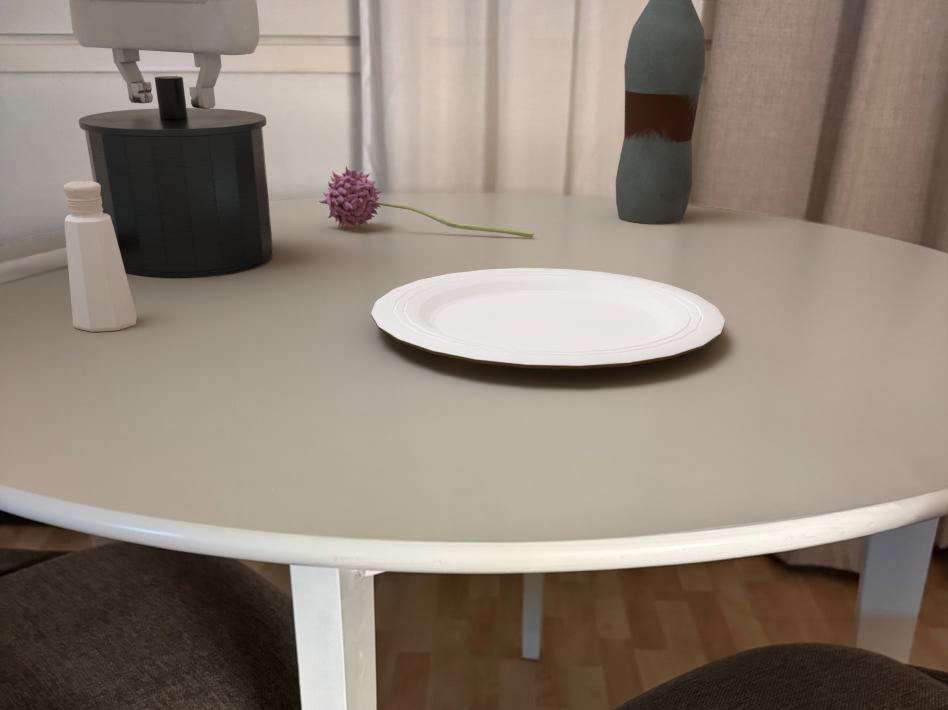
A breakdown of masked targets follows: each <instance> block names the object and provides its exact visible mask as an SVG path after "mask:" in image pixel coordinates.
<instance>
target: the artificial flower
mask: <svg viewBox="0 0 948 710" xmlns="http://www.w3.org/2000/svg"><path fill="white" fill-rule="evenodd" d="M363 173H364V170H361V171H359V172H358V171H357V169H355V168H353V169H351V170H350V169H348V167H347V165H345V172H342V175H338V174H337V173H335V171H334V170H332V176H333V177H332V176H330V181H332V182H330V181H328V182H327V183H328V184H327V185H328V187H327V189H328V193H325V192H323V195H324V196H325V197H326V198H324V199H322V200H318V202H319V203H321V204H323V205H327V206H329V207H328V210H329V215H328V217H327V219H331V218H332V217H333V218H334V219H335V223H338V227H343V226H344V225H345V230H347V229H350V230H351V228H352V229H353V230H354V229H355V226H357V224H358V226H360V225H363V224H367V225H368V222H367V221H369V220H371V221H372V220H373V218H375V215H377V216H378V212H377V210H379V208H382V206H383V207H389V208H390V207H391V208H396V209H402V210H408V211H409V210H410V211H412V212H415V213H418V214H421V215H423V216H426V217H428V218H430V219H432V220H434V221H436V222H438V223H440V224H442V225H445V226H447V227H450V228H454V229H459V230H469V231H479V232H488V233H499V234H506V235H511V236H512V235H513V236H517V237H522V238H523V237H524V238H527V239H528V238H529V239H533V238H534V233H535V231H534V230H527V229H520V228H513V227H503V226H494V225H493V226H491V225H481V224H469V223H458V222H454V221H449V220H446V219H444V218H441V217H439V216H437V215H435V214H432V213H429V212H427V211H425V210H422V209H419V208H417V207H414V206H408V205H401V204H395V203H386V202H381V201H379V199H380V198H381V197H380V196H378V195H379V194H382V193H383V192H382V191H380V189H379V187H375V184H376V182H377V181H376V180H370V179H368V178H369V176H370V174H371V172H368V173H367V174H363Z"/></svg>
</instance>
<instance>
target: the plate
mask: <svg viewBox="0 0 948 710" xmlns="http://www.w3.org/2000/svg"><path fill="white" fill-rule="evenodd" d="M370 316H371V318H372V320H373V321H374V323H375V325H376V327H377V329H378V330H380V331H382V332H383V333H385V334H386V335H387V336H389V337H391V338H392V339H394V340H396V341H397V342H399V343H401V344H404V345H406V346H409V347H412V348H415V349H418V350H420V351H424V352H426V353H429V354H432V355H436V356H441V357H446V358H451V359H456V360H461V361H466V362H471V363H475V364H481V365H482V364H483V365H492V366H501V367H509V368H518V369H528V370H529V369H530V370H561V371H562V370H566V371H570V370H587V369H588V370H590V369H604V368H618V367H631V366H636V365H642V364H649V363H654V362H655V363H656V362H659V361H666V360H671V359H673V358H677V357H679V356H682V355H685V354H689V353H692V352H694V351H695V352H696V351H697V350H701V349H702V348H705V347H706V346H707V345H708V344H710V343H712V342H713V341H714V340H716V339H718V338H719V337H721V335H722V332H723V330H724V327H725V323H726V319H725V318H724V316H723V314H722V313H721V311H720V310H719V308H718V307H717V306H716V305H714V304H713V303H711V302H710V301H708V300H706V299H704V298H703V297H701V296H700V295H698V294H696V293H693V292H691V291H689V290H685V289H682V288H680V287H677V286H674V285H671V284H667V283H663V282H660V281H655V280H651V279H646V278H642V277H638V276H631V275H625V274H618V273H611V272H606V271H605V272H604V271H596V270H595V271H594V270H584V269H571V268H549V267H548V268H546V267H512V268H511V267H510V268H493V269H488V268H487V269H478V270H469V271H461V272H453V273H452V272H451V273H445V274H441V275H436V276H432V277H431V276H430V277H427V278H422V279H418V280H417V279H416V280H415V281H412V282H409V283H406V284H404V285H401V286H397V287H396V288H393V289H391V290H390V291H389V292H387V293H385V294H384V295H383V296H382V297H380V298H379V299H377V300H376V301H375V302H374V305H373V307H372V310H371V312H370Z"/></svg>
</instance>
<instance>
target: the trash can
mask: <svg viewBox="0 0 948 710" xmlns="http://www.w3.org/2000/svg"><path fill="white" fill-rule="evenodd" d="M84 135H85V139H86V140H85V141H86V146H87V153H88V157H89V163H90V170H91V175H92V181H94V182H97V183H99V184H100V185H101V192H100V196H101V199H102V208H103V211H102V212H103V213H105V214H108V215H110V217H111V220H112V223H113V227H114V231H115V235H116V238H117V242H118V246H119V250H120V254H121V257H122V261H123V265H124V269H125V273H126V274H129V275H130V274H131V275H135V276H142V277H153V278H203V277H214V276H223V275H229V274H230V275H231V274H235V273H241V272H246V271H250V270H254V269H256V268H259V267H262V266H263V265H266V264H267V263H270V261H272V259H273V257H274V253H273V252H274V251H273V250H274V244H273V233H272V232H273V231H272V222H271V211H270V200H269V187H268V177H267V166H266V155H265V142H264V131H263V127H262V128H259V129H255V130H250V131H245V132H238V133H230V134H219V135H205V136H181V137H142V136H121V135H108V134H100V133H94V132H89V131H86V130H84Z"/></svg>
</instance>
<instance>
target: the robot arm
mask: <svg viewBox="0 0 948 710" xmlns="http://www.w3.org/2000/svg"><path fill="white" fill-rule="evenodd" d="M68 2H69V12H70V13H69V14H70V21H71V22H70V23H71V29H72V34H73V35H74V37H75V38H76V40H77V42H78V44H79V46H81V47H82V48H96V49H97V48H98V49H99V48H100V49H111V51H112V57H113V63H114V64H115V67H116V68H117V70H118V71H119V73H120V75H121V77H122V78H123V81H124V82H125V83H126V88H127V94H128V95H127V96H128V100H129V101H130V103H132V104H149V103H150V104H151V103H152V102H153V99H154V95H153V93H152V91H153V89H152V88H153V87H152V82H151V81H145V79H144V76H143V75H142V72H141V70H140V68H139V66H138V63H137V62H140V61H141V57H140V51H147V52H163V53H164V52H165V53H166V52H167V53H181V54H182V53H185V54H192V55H193V62H194V66H195V67H196V68H199V73H198V75H197V80H196V84H195V86H189V87H188V89H189V96H190V98H191V99H190V104H191V106H192V108H202V109H215V106H216V98H215V97H216V96H215V88H214V87H215V86H216V83H217V81H218V78H219V76H220V72H221V70H222V58H221V56H245V55H252V54H254V53H255V51H256V49H257V46H258V44H259V42H260V21H259V13H258V11H259V10H258V1H257V0H68Z"/></svg>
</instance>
